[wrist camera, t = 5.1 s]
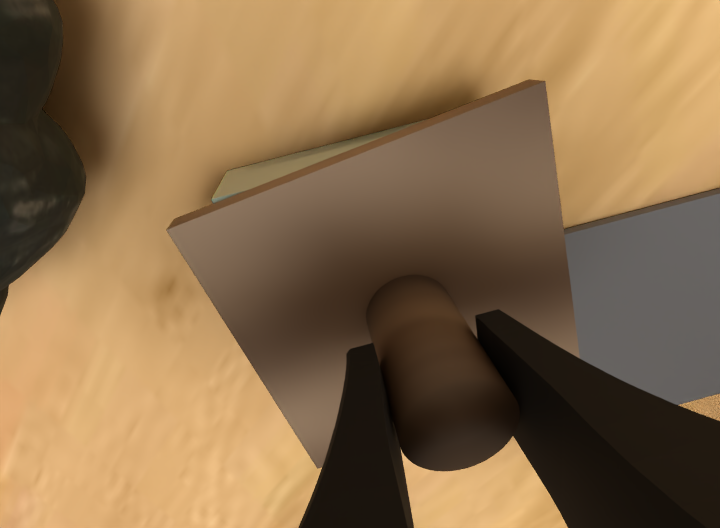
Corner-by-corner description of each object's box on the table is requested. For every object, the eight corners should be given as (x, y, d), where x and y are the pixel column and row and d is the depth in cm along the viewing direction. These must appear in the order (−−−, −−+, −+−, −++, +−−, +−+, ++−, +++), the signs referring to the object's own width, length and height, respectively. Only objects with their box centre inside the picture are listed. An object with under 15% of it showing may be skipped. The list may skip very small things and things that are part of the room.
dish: (502, 317, 18) (537, 362, 16) (302, 370, 18) (304, 425, 15) (487, 103, 14) (532, 116, 11) (226, 170, 14) (211, 199, 11)
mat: (715, 387, 23) (722, 392, 22) (520, 441, 22) (523, 447, 22) (770, 174, 17) (780, 177, 17) (509, 243, 17) (514, 248, 16)
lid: (568, 357, 15) (684, 486, 11) (316, 450, 16) (325, 612, 11) (528, 79, 11) (701, 96, 6) (174, 219, 11) (89, 333, 7)
